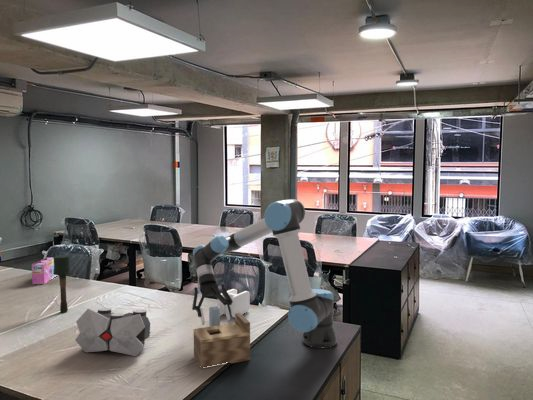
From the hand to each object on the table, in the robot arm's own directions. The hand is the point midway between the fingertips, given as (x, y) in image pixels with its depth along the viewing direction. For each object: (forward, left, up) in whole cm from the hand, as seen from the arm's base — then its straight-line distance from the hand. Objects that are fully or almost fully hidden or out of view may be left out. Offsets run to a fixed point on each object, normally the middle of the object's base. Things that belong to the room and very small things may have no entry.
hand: (216, 321), depth 181 cm
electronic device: (+37, +21, -11) cm, 44 cm away
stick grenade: (+96, 0, -11) cm, 97 cm away
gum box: (+162, -37, -11) cm, 166 cm away
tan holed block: (-8, +8, -1) cm, 11 cm away
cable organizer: (+14, -38, -11) cm, 42 cm away
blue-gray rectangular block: (+2, -2, -11) cm, 11 cm away
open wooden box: (-8, +8, -11) cm, 16 cm away
